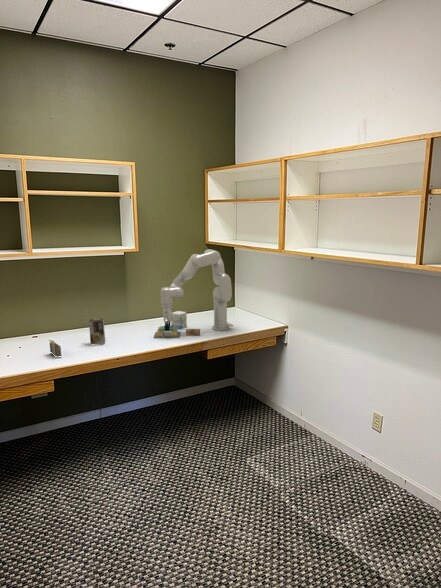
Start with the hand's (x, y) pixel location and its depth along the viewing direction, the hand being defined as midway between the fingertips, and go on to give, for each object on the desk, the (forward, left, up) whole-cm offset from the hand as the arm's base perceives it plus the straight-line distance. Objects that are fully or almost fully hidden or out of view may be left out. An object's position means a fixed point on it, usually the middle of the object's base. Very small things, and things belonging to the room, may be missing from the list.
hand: (167, 328), depth 298 cm
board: (0, 0, -1) cm, 1 cm away
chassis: (0, 0, -5) cm, 5 cm away
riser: (-18, 0, -5) cm, 18 cm away
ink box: (-7, -20, -5) cm, 22 cm away
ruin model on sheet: (+65, +38, -6) cm, 76 cm away
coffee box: (+45, +15, -5) cm, 48 cm away
